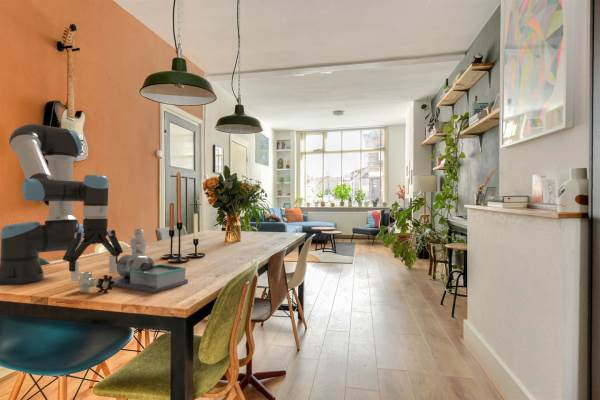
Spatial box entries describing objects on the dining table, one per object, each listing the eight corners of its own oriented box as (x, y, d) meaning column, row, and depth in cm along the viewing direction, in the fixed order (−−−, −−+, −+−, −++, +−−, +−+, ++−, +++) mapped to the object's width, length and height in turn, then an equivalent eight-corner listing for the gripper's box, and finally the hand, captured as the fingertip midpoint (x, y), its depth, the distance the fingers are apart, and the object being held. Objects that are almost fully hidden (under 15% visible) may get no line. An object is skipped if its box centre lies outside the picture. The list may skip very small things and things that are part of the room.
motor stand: (105, 284, 126) (106, 257, 126) (142, 275, 141) (143, 251, 141) (153, 293, 115) (154, 264, 115) (187, 282, 131) (188, 257, 131)
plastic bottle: (145, 274, 144) (146, 229, 144) (128, 275, 142) (129, 229, 142) (146, 271, 150) (147, 228, 150) (130, 271, 148) (131, 228, 148)
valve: (72, 292, 115) (97, 296, 111) (72, 274, 115) (98, 277, 111) (89, 287, 121) (114, 291, 117) (89, 270, 121) (114, 273, 117)
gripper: (64, 219, 103) (63, 285, 103) (133, 217, 126) (132, 271, 125) (50, 218, 106) (49, 283, 106) (120, 216, 129) (119, 269, 128)
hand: (94, 276), depth 116 cm, fingers open, 13 cm apart
